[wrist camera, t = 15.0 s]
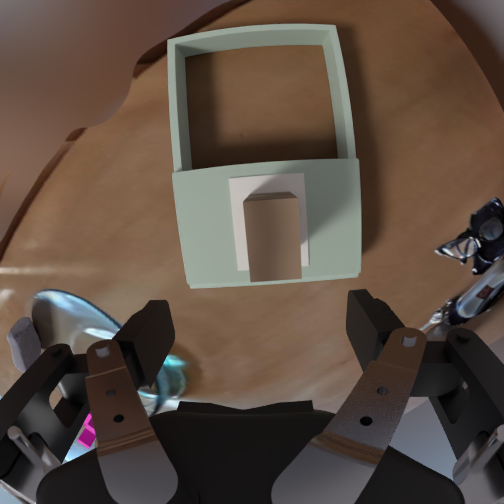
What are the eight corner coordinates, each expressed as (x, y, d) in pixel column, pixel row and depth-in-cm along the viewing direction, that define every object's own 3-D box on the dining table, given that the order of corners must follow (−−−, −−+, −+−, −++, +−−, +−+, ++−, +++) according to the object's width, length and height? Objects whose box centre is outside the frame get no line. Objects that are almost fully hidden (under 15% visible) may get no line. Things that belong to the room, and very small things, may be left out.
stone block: (48, 356, 49) (26, 379, 40) (35, 347, 49) (12, 369, 40) (42, 317, 46) (15, 339, 36) (29, 308, 46) (1, 328, 36)
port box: (328, 40, 30) (337, 21, 24) (347, 264, 39) (360, 280, 33) (178, 53, 32) (164, 36, 26) (199, 275, 41) (188, 292, 35)
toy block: (91, 398, 52) (78, 417, 45) (112, 413, 53) (100, 433, 45) (80, 418, 56) (69, 435, 48) (98, 431, 56) (88, 449, 49)
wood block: (289, 191, 31) (298, 197, 22) (293, 251, 33) (301, 278, 24) (249, 194, 31) (242, 201, 23) (254, 253, 33) (250, 282, 24)
